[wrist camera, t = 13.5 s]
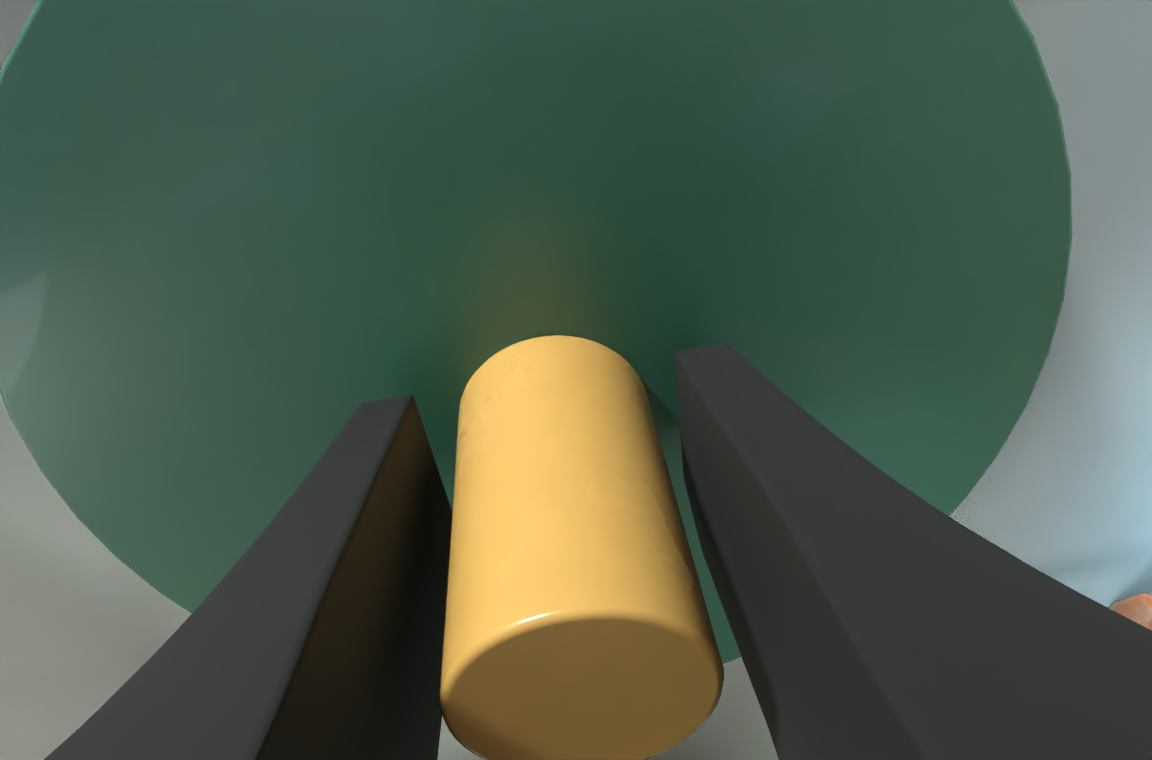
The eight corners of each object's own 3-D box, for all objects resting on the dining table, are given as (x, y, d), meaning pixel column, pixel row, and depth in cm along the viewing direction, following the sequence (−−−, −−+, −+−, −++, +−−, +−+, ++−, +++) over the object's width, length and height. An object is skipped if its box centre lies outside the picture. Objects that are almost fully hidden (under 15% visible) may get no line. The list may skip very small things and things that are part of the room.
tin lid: (57, 598, 12) (-174, 984, 8) (-54, -553, 5) (-2096, -2102, 1) (756, 680, 15) (853, 986, 11) (1251, 30, 8) (1973, 193, 4)
